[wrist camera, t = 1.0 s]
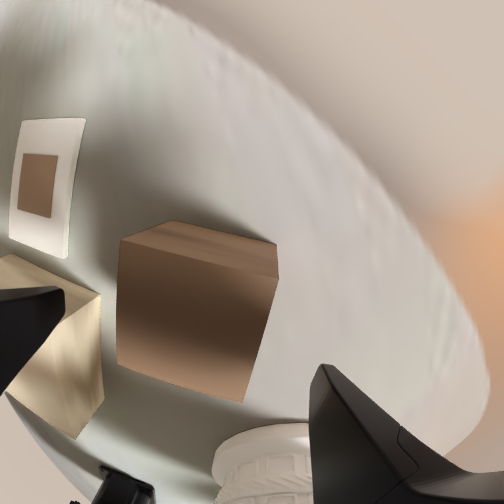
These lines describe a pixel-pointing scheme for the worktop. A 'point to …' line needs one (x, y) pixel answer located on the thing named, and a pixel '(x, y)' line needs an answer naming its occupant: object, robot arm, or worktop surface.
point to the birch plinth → (60, 353)
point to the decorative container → (265, 466)
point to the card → (44, 183)
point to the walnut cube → (194, 306)
